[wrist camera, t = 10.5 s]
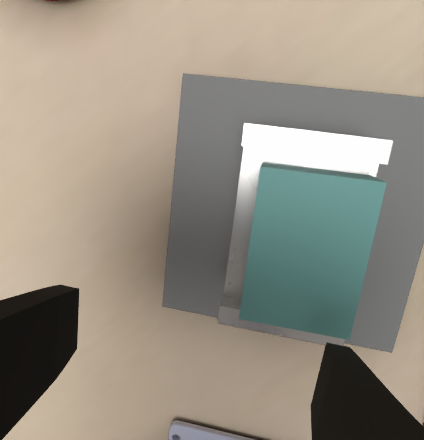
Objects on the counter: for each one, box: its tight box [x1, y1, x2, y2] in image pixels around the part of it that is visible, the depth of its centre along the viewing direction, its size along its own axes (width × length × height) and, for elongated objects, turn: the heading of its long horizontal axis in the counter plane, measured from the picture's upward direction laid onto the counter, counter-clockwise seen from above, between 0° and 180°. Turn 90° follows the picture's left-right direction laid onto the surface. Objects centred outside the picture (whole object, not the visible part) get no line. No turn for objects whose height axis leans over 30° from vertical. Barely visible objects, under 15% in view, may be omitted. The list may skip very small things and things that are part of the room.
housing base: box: [218, 123, 393, 346], centre depth 15 cm, size 8×5×4 cm, turn 173°
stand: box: [162, 73, 424, 353], centre depth 17 cm, size 12×12×1 cm
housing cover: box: [239, 162, 387, 340], centre depth 13 cm, size 6×4×2 cm
